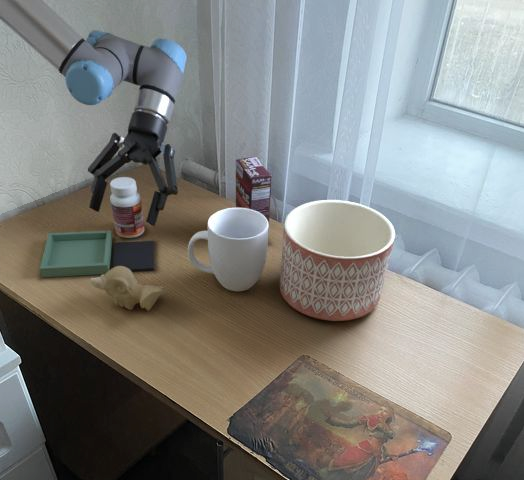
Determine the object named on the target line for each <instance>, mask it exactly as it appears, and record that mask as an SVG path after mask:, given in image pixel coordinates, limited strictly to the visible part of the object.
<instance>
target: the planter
mask: <svg viewBox="0 0 524 480" xmlns="http://www.w3.org/2000/svg"><path fill="white" fill-rule="evenodd" d="M282 234H283V235H282V249H281V260H280V261H281V262H280V273H279V292H280V294H281V297H282V298H283V299H284V301H285V302H286V303H287V304H288V305H289V306H290V307H292V309H294V310H296V311H297V312H299V313H301V314H303V315H305V316H308V317H311V318H315V319H317V320H323V321H331V322H343V321H344V322H345V321H351V320H355V319H358V318H361V317H364V316H365V315H367V314H369V313H371V312H372V311H373V310H374V309H375V308H376V307H377V305H378V304H379V302H380V300H381V297H382V292H383V287H384V283H385V279H386V275H387V271H388V267H389V263H390V259H391V255H392V251H393V248H394V244H395V239H396V232H395V227H394V225H393V224H392V222H391V221H390V220H389V219H388V218H387V217H386V216H385V215H384V214H382V213H381V212H379V211H377V210H376V209H373V208H372V207H369V206H366V205H364V204H361V203H358V202H353V201H347V200H341V199H322V200H313V201H310V202H309V201H308V202H306V203H303V204H300V205H298V206H296V207H295V208H293V209H292V210H291V211H290V212H289V213H288V214H287V215H286V217H285V219H284V225H283V233H282Z"/></svg>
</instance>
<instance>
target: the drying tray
mask: <svg viewBox="0 0 524 480" xmlns="http://www.w3.org/2000/svg"><path fill="white" fill-rule="evenodd" d="M112 245H113V236H112V231H111V230H94V231H91V230H89V231H72V232H71V231H70V232H69V231H68V232H50V233H49V232H48V233H47V237H46V240H45V245H44V249H43V254H42V258H41V261H40V265H39V272H40V275H41V277H42V278H58V277H59V278H60V277H74V276H93V275H105V274H106V273H107V272H108V271H109V270H111V269H110V268H111V257H112V247H113V246H112Z"/></svg>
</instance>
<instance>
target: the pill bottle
mask: <svg viewBox="0 0 524 480" xmlns="http://www.w3.org/2000/svg"><path fill="white" fill-rule="evenodd" d="M109 186H110V192H111V194H110V196H109V199H110V200H109V202H110V205H111V212H112V218H113V224H114V230H115V234H117V236H119V237H121V238H124V239H133V238H138V237H140V236H141V235H142V234H143V233H144V232H145V222H144V215H143V207H142V199H141V195H140V193H139V192H138V187H137V181H136V180H135V179H134V178H132V177H129V176H120V177H116V178H113V179H112V180H110V182H109Z"/></svg>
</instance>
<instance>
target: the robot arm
mask: <svg viewBox="0 0 524 480" xmlns="http://www.w3.org/2000/svg"><path fill="white" fill-rule="evenodd" d="M0 21H1V22H2V23H4V24H5V26H7V27H8V28H9V29H10V30H11V31H13V32H14V33H15V34H16V35H17V36H19V38H21V39H22V41H24V42H26V44H28V46H30V47H31V48H32V49H33V50H34V51H35V52H36V53H37V54H38V55H40V56H41V57H42V58H43V59H44V60H46V62H48V63H49V64H50V65H51V66H52V67H53V68H55V70H57V71H58V72H59V73H61V76H63V77H64V78H65V85H66V88H67V90H68V92H69V93H70V95H71V96H72V98H73V99H74V100H75V101H77V102H78V103H80V104H83V105H86V106H96V105H98V104H100V103H102V102H103V101H105V100H106V99H107V98H109V97H110V96H111V95H112V93H113V92H114V91H115V89H116V88H117V87H118V86H120V84H121V83H122V82H127V83H130V84H132V85H136V86H139V89H138V92H137V96H136V98H135V102H134V105H133V111H134V112H132V113H131V116H130V119H129V123H128V127H127V134H126V136H125V137H124V136H121V135H119V133H117V132H113V133H111V136H110V139H109V141H108V142H107V144H106V145H105V147H104V148H103V149H102V150H101V151H100V153H99V154H98V155H97V156H96V157H95V159H94V160H93V162H92V163H91V164H90V165H89V166H88V168H87V172H88V173H90V174H91V175H93V182H92V185H91V188H90V192H91V194H92V196H91V199H90V202H89V206H88V208H89V209H90V210H93V211H95V212H97V213H99V212H100V210H101V207H102V203H103V198H104V196H105V193H106V189H107V186H108V182H107V181H106V179H108V178H109V177H110V176H112V175H114V173H116V172H117V171H118V170H119V169H121V168H122V167H124V165H126V164H129V163H131V162H133V163H136V164H137V163H141V164H142V165H148V166H149V169H150V171H151V173H152V176H153V178H154V181H155V184H156V186H157V188H158V189H157V190H158V191H157V190H154V193H153V196H152V199H151V203H150V207H149V209H148V212H147V213H148V214H147V217H146V221H145V222H146V223H147V224H149V225H150V226H152V227H156V224H157V221H158V217H159V214H160V211H163V210H164V209H165V206H166V203H167V200H168V197H169V196H172V195H174V196H176V195H178V194H179V189H178V182H177V174H176V169H175V162H174V159H175V154H176V150H175V149H174V147H172V146H171V145H170V144H169V143H166V144H165V145H163V142H164V141H165V137H166V135H167V131H168V124H169V123H170V120H171V117H172V114H173V110H174V107H175V103H176V99H177V96H178V93H179V89H180V87H181V83H182V81H183V78H184V73H185V67H186V64H187V61H188V59H187V54H186V52H185V50H184V48H183V47H182V46H181V45H179V44H178V43H177V42H175V41H174V40H171V39H168V38H161V37H160V38H159V37H158V38H156V39H154V40H153V42H152V44H151V45H150V46H147V45H142V44H139V43H137V42H133V41H131V40H129V39H125V38H122V37H120V36H117V35H115V34H114V33H111V32H106V31H102V30H98V29H93V30H91V31H90V32H89V33H88V36H87V38H86V39H85V38H83V37H82V36H81V35H80V34H79V33H78V32H77V31H76V30H75V29H74V28H73V27H72V26H71V25H70V24H69V23H67V21H65V20H64V19H63V18H62V17H61V16H60V15H59V14H58V13H57V12H56V11H54V10H53V8H51V6H50V5H49V4H47V3H46V2H45V1H44V0H0ZM120 148H121V149H120ZM160 155H162V156H163V157H162V158H163V165H164V172H165V177H166V181H165V178H164V176H163V174H162V170H161V168H160V164H159V161H158V160H157V157H158V156H160Z"/></svg>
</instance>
